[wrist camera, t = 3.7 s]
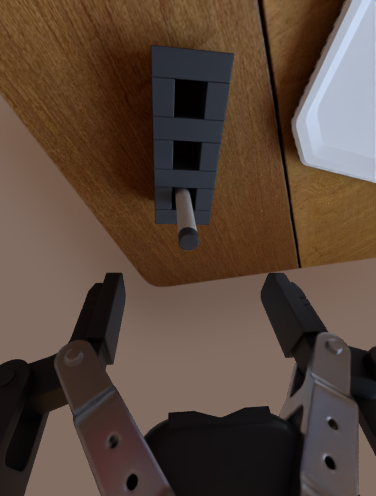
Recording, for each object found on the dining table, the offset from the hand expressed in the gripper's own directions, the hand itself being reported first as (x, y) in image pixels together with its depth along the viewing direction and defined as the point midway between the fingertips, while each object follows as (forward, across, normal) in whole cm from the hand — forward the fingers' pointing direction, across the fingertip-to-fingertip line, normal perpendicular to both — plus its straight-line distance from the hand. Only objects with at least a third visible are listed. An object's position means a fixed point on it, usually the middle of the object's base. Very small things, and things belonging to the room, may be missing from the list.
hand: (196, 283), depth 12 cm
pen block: (+16, 0, -4) cm, 16 cm away
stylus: (+16, 0, 0) cm, 16 cm away
